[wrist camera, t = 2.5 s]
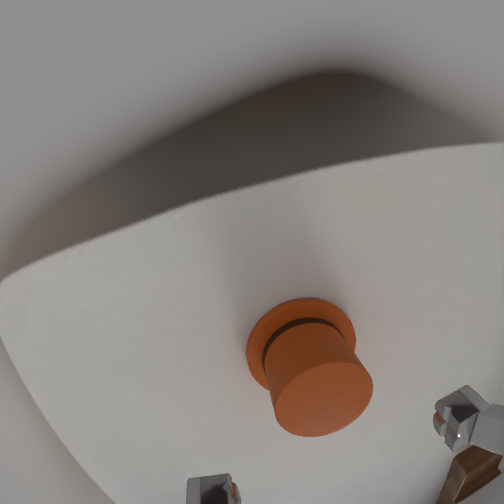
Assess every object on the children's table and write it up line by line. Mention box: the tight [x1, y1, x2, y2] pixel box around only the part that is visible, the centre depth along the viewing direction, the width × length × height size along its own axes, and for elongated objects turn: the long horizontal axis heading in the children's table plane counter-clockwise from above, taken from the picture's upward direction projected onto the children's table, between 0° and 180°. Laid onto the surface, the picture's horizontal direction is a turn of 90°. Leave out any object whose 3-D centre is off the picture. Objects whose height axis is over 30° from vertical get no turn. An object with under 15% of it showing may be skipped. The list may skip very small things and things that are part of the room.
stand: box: [436, 445, 503, 504], centre depth 20 cm, size 21×11×11 cm, turn 14°
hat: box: [247, 298, 373, 437], centre depth 15 cm, size 6×6×5 cm
